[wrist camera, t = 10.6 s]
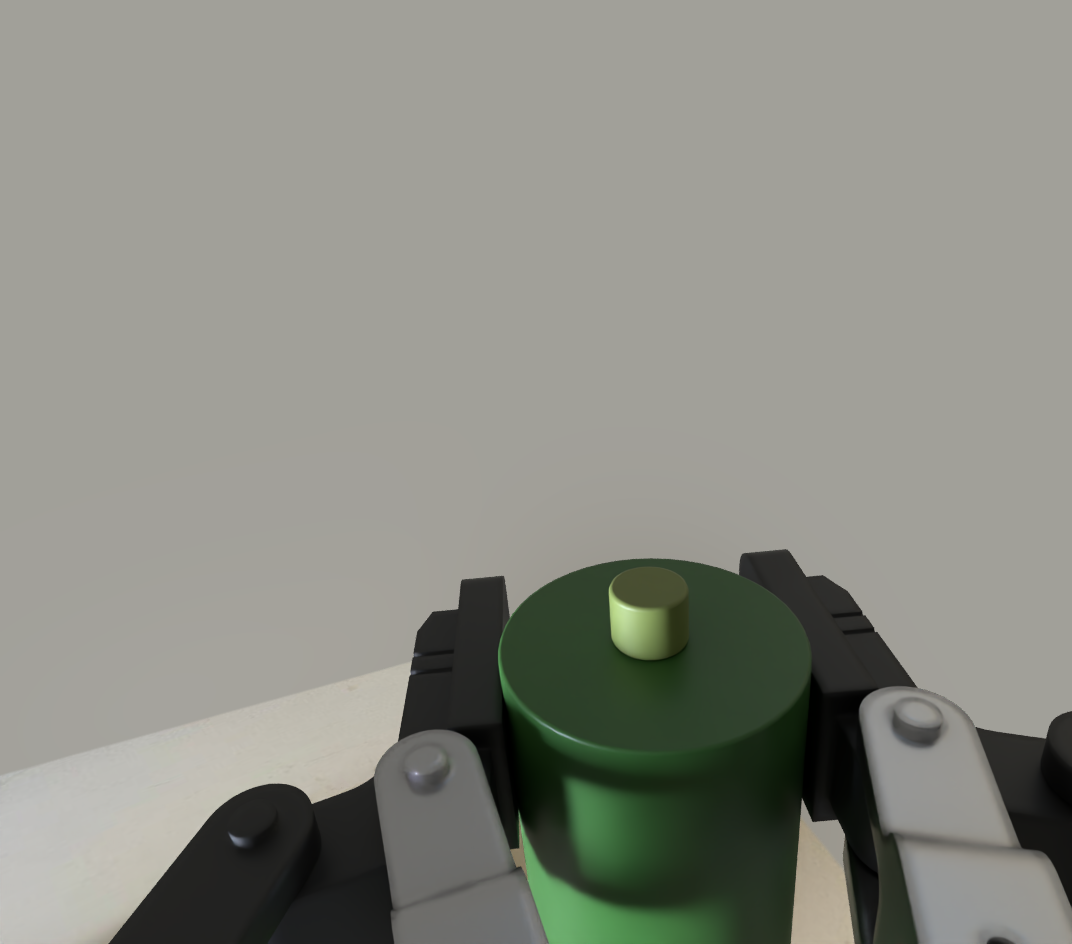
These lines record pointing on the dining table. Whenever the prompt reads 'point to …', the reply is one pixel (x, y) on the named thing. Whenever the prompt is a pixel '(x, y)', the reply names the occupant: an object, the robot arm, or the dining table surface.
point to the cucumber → (658, 753)
